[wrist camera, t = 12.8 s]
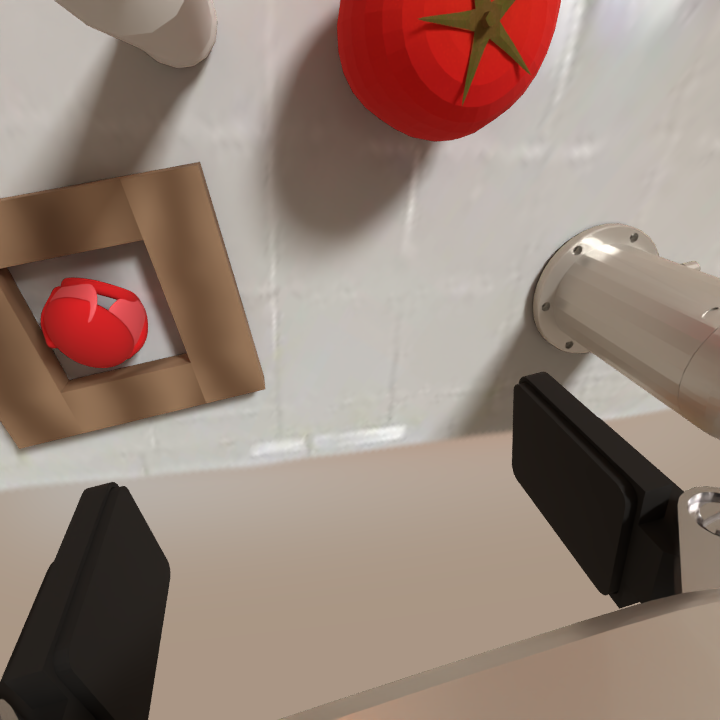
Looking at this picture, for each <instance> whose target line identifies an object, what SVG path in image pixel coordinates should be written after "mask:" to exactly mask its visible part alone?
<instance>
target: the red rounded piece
mask: <svg viewBox="0 0 720 720" xmlns="http://www.w3.org/2000/svg"><path fill="white" fill-rule="evenodd" d="M97 294H98V295H102V296H106V297H110V298H113V299H116V300H117V301H116V302H115V303H114V304H113V305H112V306H111V307H110V309H109V310H107V309H105V308H103V307H101V306H99V305H97ZM41 328H42V331H43V334H44V337H45V340H46V344H47V345H48V346H49V347H50V348H58V349H59V350H60V351H61V352H62V353H63V354H65V355H66V356H67V357H69V358H70V359H72V360H74V361H76V362H78V363H80V364H83V365H86V366H90V367H95V368H108V367H113V366H116V365H119V364H121V363H123V362H124V361H125V360H126V359H129V358H131V357H132V356H133V355H134V354H136V353H137V352H138V351H139V350H140V349H141V348H142V346H143V345H144V343H145V341H146V338H147V333H148V320H147V315H146V311H145V308H144V306H143V305H142V303H141V301H140V299H139V298H138V297H137V296H136V295H135V294H134V293H133V292H131V291H129V290H126V289H123V288H121V287H118V286H115V285H111V284H108V283H104V282H100V281H96V280H91V279H84V278H65V279H64V280H63V281H62V283H61V286H58V287H55V288H54V289H53V291H52V293H51V295H50V297H49V298H48V300H47V302H46V304H45V306H44V308H43V311H42V313H41Z"/></svg>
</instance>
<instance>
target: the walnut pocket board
mask: <svg viewBox="0 0 720 720" xmlns="http://www.w3.org/2000/svg"><path fill="white" fill-rule="evenodd" d="M141 240H144V243H145V246H146V248H147V251H148V253H149V256H150V258H151V261H152V264H153V266H154V269H155V271H156V274H157V277H158V279H159V282H160V284H161V287H162V290H163V292H164V295H165V297H166V300H167V303H168V305H169V308H170V310H171V313H172V316H173V318H174V321H175V323H176V326H177V329H178V331H179V334H180V336H181V339H182V341H183V344H184V347H185V349H186V352H187V353H185V354H181V355H176V356H172V357H168V358H163V359H159V360H155V361H150V362H146V363H142V364H137V365H133V366H129V367H124V368H120V369H115V370H111V371H107V372H102V373H98V374H94V375H89V376H85V377H81V378H76V379H72V380H69V379H68V377H67V376H66V374H65V372H64V370H63V368H62V367H61V365H60V363H59V361H58V359H57V357H56V356H55V354H54V352H53V350H52V348H50V347H49V346H48V345H47V344H46V340H45V337H44V334H43V332H42V330H41V328H40V327H39V325H38V323H37V321H36V319H35V318H34V316H33V314H32V312H31V310H30V308H29V307H28V305H27V303H26V301H25V299H24V298H23V296H22V294H21V292H20V290H19V289H18V287H17V285H16V283H15V281H14V279H13V278H12V276H11V274H10V272H9V270H8V269H7V267H10V266H15V265H20V264H25V263H30V262H35V261H40V260H45V259H50V258H55V257H61V256H66V255H71V254H76V253H81V252H86V251H91V250H96V249H101V248H106V247H111V246H116V245H121V244H126V243H131V242H136V241H141ZM264 389H265V381H264V375H263V372H262V368H261V365H260V362H259V358H258V355H257V351H256V348H255V345H254V341H253V338H252V335H251V331H250V328H249V325H248V321H247V318H246V315H245V311H244V308H243V305H242V301H241V298H240V295H239V291H238V288H237V284H236V281H235V278H234V274H233V271H232V268H231V264H230V261H229V258H228V254H227V251H226V248H225V244H224V241H223V238H222V234H221V231H220V228H219V224H218V221H217V217H216V214H215V211H214V207H213V204H212V201H211V197H210V194H209V191H208V187H207V184H206V181H205V177H204V174H203V171H202V167H201V164H200V162H198V163H192V164H187V165H181V166H176V167H170V168H165V169H159V170H154V171H148V172H143V173H138V174H132V175H127V176H121V177H116V178H110V179H105V180H99V181H94V182H88V183H83V184H78V185H72V186H67V187H61V188H56V189H50V190H45V191H39V192H34V193H28V194H23V195H18V196H12V197H7V198H1V199H0V421H1V422H2V424H3V425H4V427H5V428H6V430H7V431H8V433H9V434H10V436H11V437H12V439H13V440H14V442H15V443H16V445H17V446H18V448H19V449H21V448H25V447H29V446H33V445H37V444H41V443H45V442H49V441H53V440H58V439H62V438H66V437H70V436H74V435H78V434H82V433H86V432H91V431H95V430H99V429H103V428H107V427H111V426H115V425H119V424H124V423H128V422H132V421H136V420H140V419H144V418H148V417H152V416H156V415H161V414H165V413H169V412H173V411H177V410H181V409H185V408H189V407H194V406H198V405H202V404H206V403H210V402H214V401H218V400H222V399H227V398H231V397H235V396H239V395H243V394H247V393H251V392H255V391H259V390H264Z"/></svg>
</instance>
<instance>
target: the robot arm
mask: <svg viewBox="0 0 720 720" xmlns="http://www.w3.org/2000/svg"><path fill="white" fill-rule="evenodd" d="M533 314H534V320H535V323H536V326H537V329H538V330H539V332H540V333H541V335H542V337H544V338H545V339H546V340H547V341H548V342H549V343H550V344H552V345H553V346H555V347H556V348H558V349H560V350H562V351H565V352H570V353H588V352H592V353H593V354H595V355H596V356H597V357H599V358H600V359H602V360H603V361H604V362H606V363H607V364H609V365H610V366H612V367H613V368H614V369H616V370H617V371H619V372H620V373H621V374H623V375H624V376H626V377H627V378H629V379H630V380H631V381H633V382H634V383H636V384H637V385H638V386H640V387H641V388H643V389H644V390H646V391H647V392H648V393H650V394H651V395H653V396H654V397H655V398H657V399H658V400H660V401H661V402H663V403H664V404H665V405H667V406H668V407H670V408H671V409H673V410H674V411H675V412H677V413H678V414H680V415H681V416H682V417H684V418H685V419H687V420H688V421H690V422H691V423H692V424H694V425H695V426H697V427H698V428H700V429H701V430H703V431H704V432H706V433H708V434H709V435H711V436H713V437H715V438H717V439H719V440H720V278H717V277H715V276H712V275H709V274H706V273H704V272H701V271H700V265H699V263H697V262H696V261H691V262H687V263H682V264H679V263H676V262H673V261H670V260H667V259H665V258H662V257H659V253H658V251H657V248H656V246H655V244H654V242H653V241H652V240H651V238H650V237H649V236H648V235H647V234H645V233H644V232H643V231H641V230H639V229H636V228H634V227H631V226H628V225H623V224H619V223H617V224H603V225H599V226H595V227H592V228H590V229H588V230H585V231H583V232H581V233H580V234H578V235H576V236H575V237H573V238H572V239H570V240H569V241H568V242H567V243H566V244H565V245H563V246H562V247H561V248H560V249H559V250H558V251H557V253H556V254H555V255H554V256H553V257H552V258H551V259H550V261H549V263H548V264H547V266H546V267H545V269H544V270H543V272H542V274H541V277H540V279H539V281H538V283H537V287H536V290H535V294H534V301H533ZM512 449H513V450H512V468H513V472H514V475H515V477H516V479H517V480H518V482H519V483H520V484H521V486H522V487H523V488H524V490H525V491H526V493H527V494H528V495H529V497H530V498H531V499H532V501H533V502H534V504H535V505H536V506H537V508H538V509H539V510H540V512H541V513H542V514H543V516H544V517H545V519H546V520H547V521H548V523H549V524H550V525H551V526H552V528H553V529H554V531H555V532H556V533H557V535H558V536H559V537H560V539H561V540H562V542H563V543H564V544H565V546H566V547H567V549H568V550H569V551H570V552H571V554H572V555H573V557H574V558H575V559H576V561H577V562H578V564H579V565H580V566H581V568H582V569H583V570H584V572H585V573H586V574H587V576H588V577H589V579H590V580H591V581H592V583H593V584H594V585H595V587H596V588H597V589H598V590H599V592H600V593H602V594H603V595H608V594H609V595H610V597H611V598H612V599H613V601H614V602H615V603H616V604H617V606H618V607H619V608H622V607H626V606H629V605H632V604H635V603H638V602H640V603H641V604H638V605H635V606H631V607H628V608H625V609H621V610H618V611H615V612H611V613H608V614H604V615H601V616H598V617H595V618H591V619H588V620H584V621H581V622H578V623H575V624H572V625H568V626H565V627H562V628H559V629H556V630H553V631H550V632H547V633H543V634H540V635H537V636H534V637H531V638H528V639H525V640H521V641H518V642H515V643H512V644H509V645H506V646H503V647H500V648H496V649H493V650H490V651H487V652H484V653H481V654H478V655H474V656H471V657H468V658H465V659H462V660H459V661H456V662H453V663H450V664H447V665H444V666H441V667H438V668H435V669H431V670H428V671H425V672H422V673H419V674H416V675H413V676H410V677H407V678H404V679H400V680H398V681H394V682H392V683H389V684H385V685H382V686H379V687H376V688H373V689H370V690H367V691H364V692H361V693H358V694H355V695H351V696H349V697H345V698H342V699H339V700H336V701H333V702H330V703H327V704H324V705H321V706H318V707H315V708H312V709H309V710H306V711H303V712H300V713H297V714H294V715H291V716H288V717H285V718H282V719H279V720H720V488H717V487H709V486H703V487H694V488H691V489H689V490H686V491H685V492H684V491H682V490H681V489H680V488H679V487H678V486H677V485H676V484H675V483H673V482H672V481H671V480H670V479H669V478H668V477H666V476H665V475H664V474H663V473H662V472H661V471H660V470H659V469H657V468H656V467H655V466H654V465H653V464H651V462H649V461H648V460H647V459H646V458H645V457H644V456H642V455H641V454H640V453H639V452H638V451H637V450H636V449H634V448H633V447H632V446H631V445H630V444H629V443H628V442H626V441H625V440H624V439H623V438H622V437H621V436H620V435H618V434H617V433H616V432H615V431H614V430H613V429H612V428H611V427H609V426H608V425H607V424H606V423H605V422H604V421H603V420H601V419H600V418H598V417H597V416H596V415H595V414H593V413H592V412H591V411H590V410H589V409H588V408H587V407H586V406H584V405H583V404H582V403H581V402H580V401H579V400H578V399H576V398H575V397H574V396H573V395H572V394H571V393H570V392H568V391H567V390H566V389H565V388H564V387H563V386H562V385H560V384H559V383H558V382H557V381H556V380H555V379H554V378H552V377H551V376H550V375H549V374H548V373H546V372H540V373H536V374H532V375H528V376H525V377H522V378H521V379H520V381H519V384H517V385H515V387H514V400H513V446H512ZM169 582H170V567H169V563H168V561H167V559H166V557H165V555H164V553H163V552H162V550H161V548H160V546H159V544H158V543H157V541H156V539H155V537H154V535H153V533H152V532H151V530H150V528H149V526H148V525H147V523H146V521H145V519H144V517H143V515H142V514H141V512H140V510H139V508H138V506H137V505H136V503H135V501H134V499H133V497H132V495H131V494H130V492H129V490H128V489H127V487H125V486H122V487H119V486H118V484H116V483H115V482H111V483H107V484H103V485H99V486H95V487H91V488H87V489H86V490H84V492H83V493H82V496H81V498H80V500H79V503H78V505H77V508H76V510H75V512H74V515H73V517H72V520H71V522H70V524H69V527H68V529H67V531H66V534H65V536H64V539H63V541H62V544H61V546H60V548H59V551H58V553H57V555H56V558H55V560H54V562H53V563H52V564H51V565H50V567H49V569H48V570H47V573H46V575H45V577H44V580H43V582H42V584H41V587H40V589H39V592H38V594H37V596H36V599H35V601H34V603H33V606H32V608H31V610H30V613H29V615H28V618H27V620H26V622H25V625H24V627H23V629H22V632H21V634H20V637H19V639H18V642H17V643H16V646H15V648H14V651H13V653H12V656H11V658H10V660H9V662H8V665H7V667H6V670H5V672H4V674H3V677H2V679H1V681H0V720H148V715H149V710H150V703H151V697H152V691H153V684H154V678H155V671H156V665H157V659H158V653H159V646H160V640H161V633H162V627H163V621H164V614H165V608H166V601H167V595H168V589H169Z"/></svg>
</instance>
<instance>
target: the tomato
mask: <svg viewBox="0 0 720 720" xmlns="http://www.w3.org/2000/svg"><path fill="white" fill-rule="evenodd" d="M560 3H561V0H341V1H340V8H339V15H338V23H337V34H338V52H339V56H340V61H341V65H342V69H343V73H344V75H345V77H346V79H347V81H348V83H349V86H350V88H351V90H352V92H353V93H354V94H355V96H356V97H357V98H358V99H359V100H360V102H361V103H362V104H363V105H364V106H365V108H367V109H368V110H369V111H370V112H372V113H373V114H374V115H375V116H377V117H378V118H379V119H381V120H382V121H384V122H385V123H387V124H388V125H390V126H391V127H393V128H394V129H396V130H398V131H400V132H402V133H404V134H406V135H408V136H410V137H414V138H419V139H424V140H429V141H447V140H454V139H458V138H461V137H464V136H467V135H470V134H472V133H475V132H476V131H478V130H479V129H481V128H482V127H484V126H485V125H487V124H488V123H490V122H491V121H493V120H494V119H496V118H497V117H498V116H500V115H501V114H502V113H504V112H505V111H506V110H508V109H509V108H510V107H511V106H512V105H513V104H514V103H515V102H516V101H517V100H518V99H519V98H520V97H521V96H522V95H523V94H524V92H525V91H526V89H527V88H528V86H529V85H530V83H531V82H532V80H533V79H534V78H535V76H536V74H537V72H538V70H539V68H540V66H541V64H542V62H543V60H544V58H545V56H546V54H547V51H548V49H549V46H550V43H551V40H552V37H553V34H554V31H555V27H556V22H557V18H558V13H559V8H560Z"/></svg>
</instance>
